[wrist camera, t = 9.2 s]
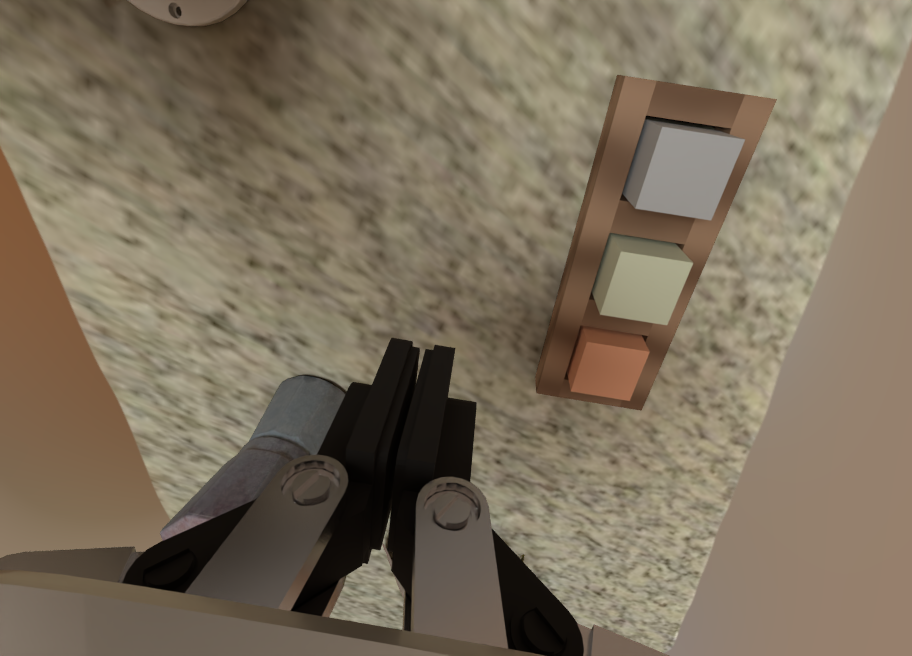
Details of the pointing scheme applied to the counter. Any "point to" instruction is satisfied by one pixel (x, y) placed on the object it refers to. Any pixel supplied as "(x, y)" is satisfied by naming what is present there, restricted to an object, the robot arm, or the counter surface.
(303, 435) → the moka pot
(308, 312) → the counter surface
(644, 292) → the sage button
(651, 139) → the slate button
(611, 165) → the walnut panel
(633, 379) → the terracotta button
